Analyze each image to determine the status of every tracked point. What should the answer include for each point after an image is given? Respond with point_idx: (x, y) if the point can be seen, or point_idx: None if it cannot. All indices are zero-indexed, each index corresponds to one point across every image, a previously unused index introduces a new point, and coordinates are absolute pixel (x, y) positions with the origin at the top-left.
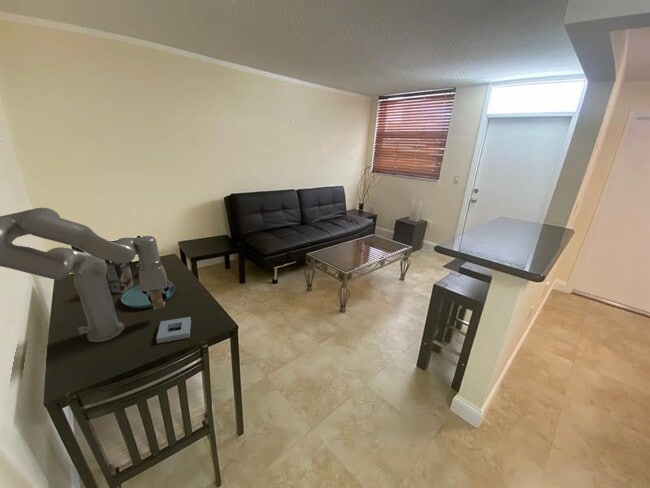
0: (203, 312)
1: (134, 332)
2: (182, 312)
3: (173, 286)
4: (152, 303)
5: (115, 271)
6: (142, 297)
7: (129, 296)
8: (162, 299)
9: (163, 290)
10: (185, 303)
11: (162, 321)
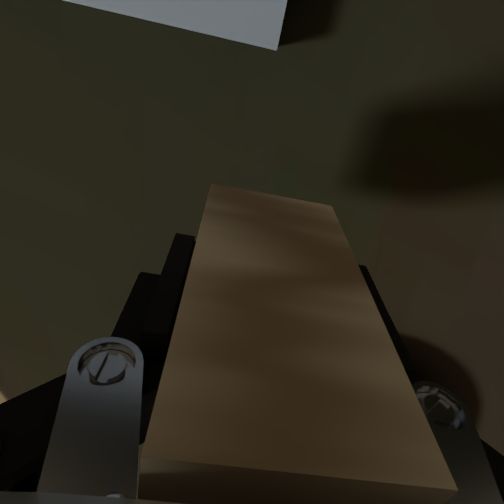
0: None
1: (500, 66)
2: (99, 190)
3: None
4: (348, 250)
5: None
6: None
7: None
8: (193, 252)
9: (86, 424)
10: (89, 299)
11: (259, 40)
